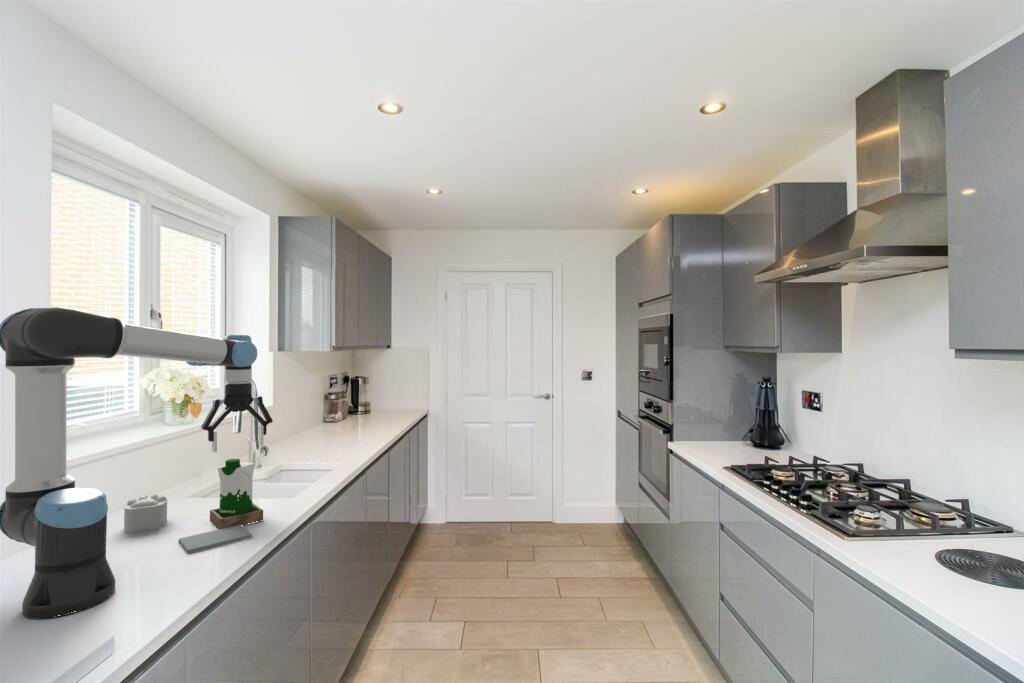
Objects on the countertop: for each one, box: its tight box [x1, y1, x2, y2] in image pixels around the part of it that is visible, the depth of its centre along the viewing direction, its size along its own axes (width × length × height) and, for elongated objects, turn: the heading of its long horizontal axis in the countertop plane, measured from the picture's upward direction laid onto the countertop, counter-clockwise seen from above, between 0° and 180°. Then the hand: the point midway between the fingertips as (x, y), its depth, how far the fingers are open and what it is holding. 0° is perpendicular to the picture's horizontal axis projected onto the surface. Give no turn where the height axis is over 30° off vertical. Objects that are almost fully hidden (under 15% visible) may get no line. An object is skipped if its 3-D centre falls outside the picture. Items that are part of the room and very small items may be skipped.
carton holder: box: [209, 502, 264, 530], centre depth 156 cm, size 12×12×4 cm
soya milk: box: [217, 458, 256, 518], centre depth 156 cm, size 9×9×20 cm
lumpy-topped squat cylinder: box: [123, 493, 168, 534], centre depth 153 cm, size 10×13×9 cm
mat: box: [178, 525, 253, 555], centre depth 141 cm, size 16×11×1 cm
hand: (238, 448), depth 157 cm, fingers open, 13 cm apart
